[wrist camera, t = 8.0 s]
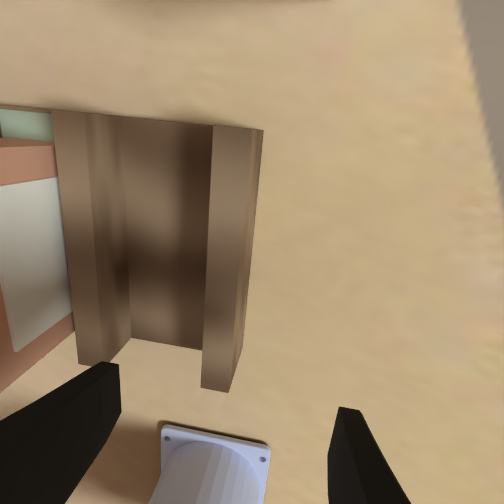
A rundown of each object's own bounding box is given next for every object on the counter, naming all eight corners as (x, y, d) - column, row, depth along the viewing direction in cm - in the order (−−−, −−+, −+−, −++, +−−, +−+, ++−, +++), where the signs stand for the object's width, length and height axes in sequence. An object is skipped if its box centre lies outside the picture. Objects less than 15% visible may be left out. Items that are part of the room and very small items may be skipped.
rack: (242, 347, 21) (228, 393, 17) (-66, 293, 24) (-136, 322, 20) (263, 130, 17) (250, 128, 13) (-119, 93, 19) (-223, 82, 15)
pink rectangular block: (83, 144, 17) (-55, 149, 11) (98, 313, 20) (0, 395, 14) (9, 137, 18) (-167, 138, 11) (35, 302, 21) (-87, 377, 14)
